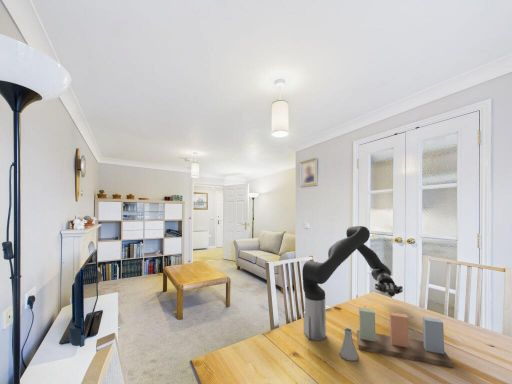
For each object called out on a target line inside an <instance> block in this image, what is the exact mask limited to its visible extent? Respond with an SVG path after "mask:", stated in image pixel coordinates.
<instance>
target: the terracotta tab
mask: <svg viewBox="0 0 512 384" xmlns="http://www.w3.org/2000/svg"><path fill="white" fill-rule="evenodd" d="M408 318H409V317H408V316H407V314H406V313H399V312H391V311H390V312H389V336H390V341H391V344H392V345H396V346H402V347H407V348H409V346H408V339H409V323H408V322H409V320H408Z"/></svg>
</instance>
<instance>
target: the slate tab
mask: <svg viewBox="0 0 512 384" xmlns="http://www.w3.org/2000/svg"><path fill="white" fill-rule="evenodd" d="M422 333H423V335H422V337H423V338H422V339H423V342H424V348H425V350H426V351H429V352H435V353H440V354H444V351H445V336H444V335H445V333H444V322H443V320H442V319H440V318H437V317H436V318H435V317H434V318H433V317H427V316H422Z"/></svg>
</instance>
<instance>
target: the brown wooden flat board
mask: <svg viewBox="0 0 512 384" xmlns="http://www.w3.org/2000/svg"><path fill="white" fill-rule="evenodd" d="M375 335H376V342H374V341H369V340H363V339H360V329H359V330H358V329H356V339H357V347H358V350H360V351H366V352H370V353H376V354H381V355H385V356H391V357H397V358H401V359H407V360H411V361H415V362H417V361H418V362H421V363H426V364H427V363H428V364H431V365H437V366H442V367H446V368H452V369H453V367H454V365H453V364H454V363H453V361H452V360H451V358H450V357H449V355H448V353H447V352H446V351H445V350H444V354H440V353H435V352H429V351H426V350H425V348H424V342H423V341H422V340H418V339H411V338H408V346H409V348H407V347H402V346H396V345H392V344H391V341H390V335H387V334H382V333H381V334H380V333H377V332H375Z"/></svg>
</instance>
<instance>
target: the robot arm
mask: <svg viewBox="0 0 512 384" xmlns="http://www.w3.org/2000/svg"><path fill="white" fill-rule="evenodd" d="M346 229H347V230H346V237H344V238H342V239H340V240H337V241H336V242H335V243H334V244H332V245H331V246H330V247H329V248H328V252H327V253H328V254H327V255H328V256H327V257H328V258H327V259H326V260H325V261H323V262H318V261H315V260H307V261H305V262H304V264H303V266H302V274H301V275H302V288H303V292H304V311H303V333H304V335H305V336H306V337H307V339H308V340H313V341H322V340H325V339H326V336H327V330H326V329H327V328H326V327H327V326H326V318H327V317H326V292H325V290H324V289H323V288H322V287H321V286H320V285H323V284H325V283H327V281H328V280H329V279H330V278H331V276H332V275H333V274H334V273H335V271H336V270H337V269H339V266H341V264H343V263H344V262H345V261H346V260H347V259H348V258H349V257H350V256H351V255H352V254H354V252H355V251H356V250H357V252H359V253H360V254H361V256H362V257H363V258H364V260H365V261H366V263H367V264H368V266H369V267H370V269H372V270H371V272H370V273H371V276H372V278H373V280H375V281H376V282H377V283H375V284H374V289H375V290H377V291H379V292H381V293H384V294H385V293H386V294H388V295H387V296H389V297H395V296H396V295H398V294H401V293H403V290H404V289H403V286H401V285H400V286H398V285H397V284H396V283H395V281H394V279H393V277H391V276H392V271H391V270H390V268H389V267H388V266H386V265H385V264H384V263H383V262H382V260H381V259H380V258H379V256H378V254H377V253H376V252H375V251H374V250H373V249H371V248H370V247H369V246H367V245H366V244H365V243H367V242H368V240H369V239H370V235H371V234H370V233H371V232H370V230H369V228H368V227H367V226H362V225H357V226H349V227H348V228H346Z"/></svg>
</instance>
